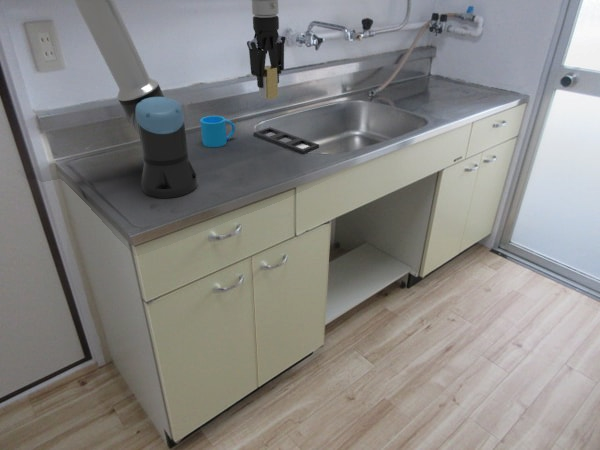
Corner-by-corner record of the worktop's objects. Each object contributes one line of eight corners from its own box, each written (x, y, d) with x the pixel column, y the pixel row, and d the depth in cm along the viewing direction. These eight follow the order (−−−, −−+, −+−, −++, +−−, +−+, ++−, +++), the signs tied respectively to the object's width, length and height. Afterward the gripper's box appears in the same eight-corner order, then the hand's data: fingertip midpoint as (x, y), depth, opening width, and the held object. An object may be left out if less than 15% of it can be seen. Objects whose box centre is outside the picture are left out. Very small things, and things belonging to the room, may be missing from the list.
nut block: (268, 99, 142) (267, 69, 138) (259, 96, 145) (258, 67, 140) (277, 96, 145) (276, 67, 140) (269, 94, 147) (268, 65, 142)
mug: (208, 149, 152) (206, 125, 148) (198, 141, 158) (196, 118, 153) (240, 142, 158) (239, 119, 153) (230, 135, 163) (228, 112, 159)
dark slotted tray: (303, 154, 149) (303, 151, 148) (253, 135, 163) (253, 132, 162) (319, 147, 154) (319, 144, 153) (269, 130, 168) (269, 127, 167)
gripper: (251, 20, 125) (255, 104, 137) (295, 13, 135) (296, 92, 147) (234, 17, 129) (240, 99, 142) (278, 11, 140) (280, 88, 152)
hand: (268, 95), depth 145 cm, fingers closed on nut block, 4 cm apart
